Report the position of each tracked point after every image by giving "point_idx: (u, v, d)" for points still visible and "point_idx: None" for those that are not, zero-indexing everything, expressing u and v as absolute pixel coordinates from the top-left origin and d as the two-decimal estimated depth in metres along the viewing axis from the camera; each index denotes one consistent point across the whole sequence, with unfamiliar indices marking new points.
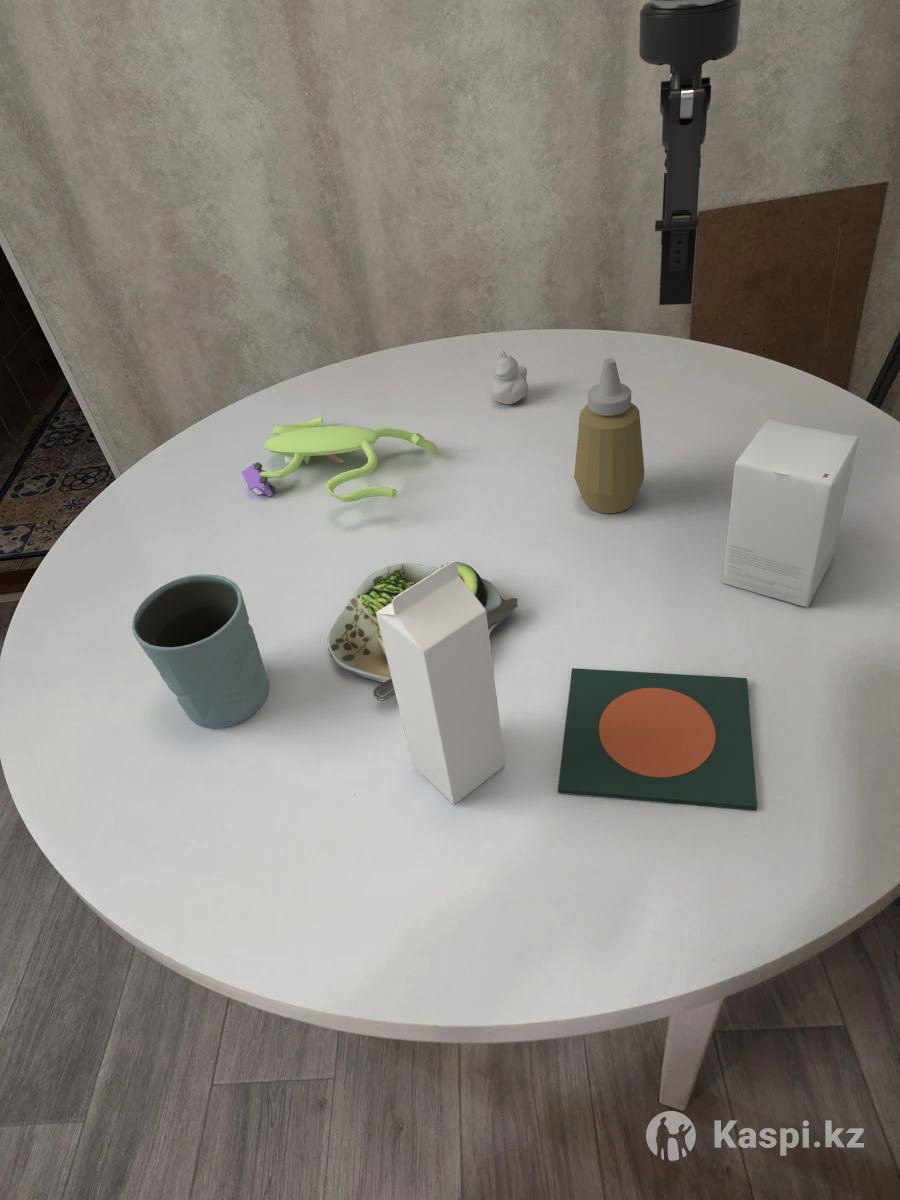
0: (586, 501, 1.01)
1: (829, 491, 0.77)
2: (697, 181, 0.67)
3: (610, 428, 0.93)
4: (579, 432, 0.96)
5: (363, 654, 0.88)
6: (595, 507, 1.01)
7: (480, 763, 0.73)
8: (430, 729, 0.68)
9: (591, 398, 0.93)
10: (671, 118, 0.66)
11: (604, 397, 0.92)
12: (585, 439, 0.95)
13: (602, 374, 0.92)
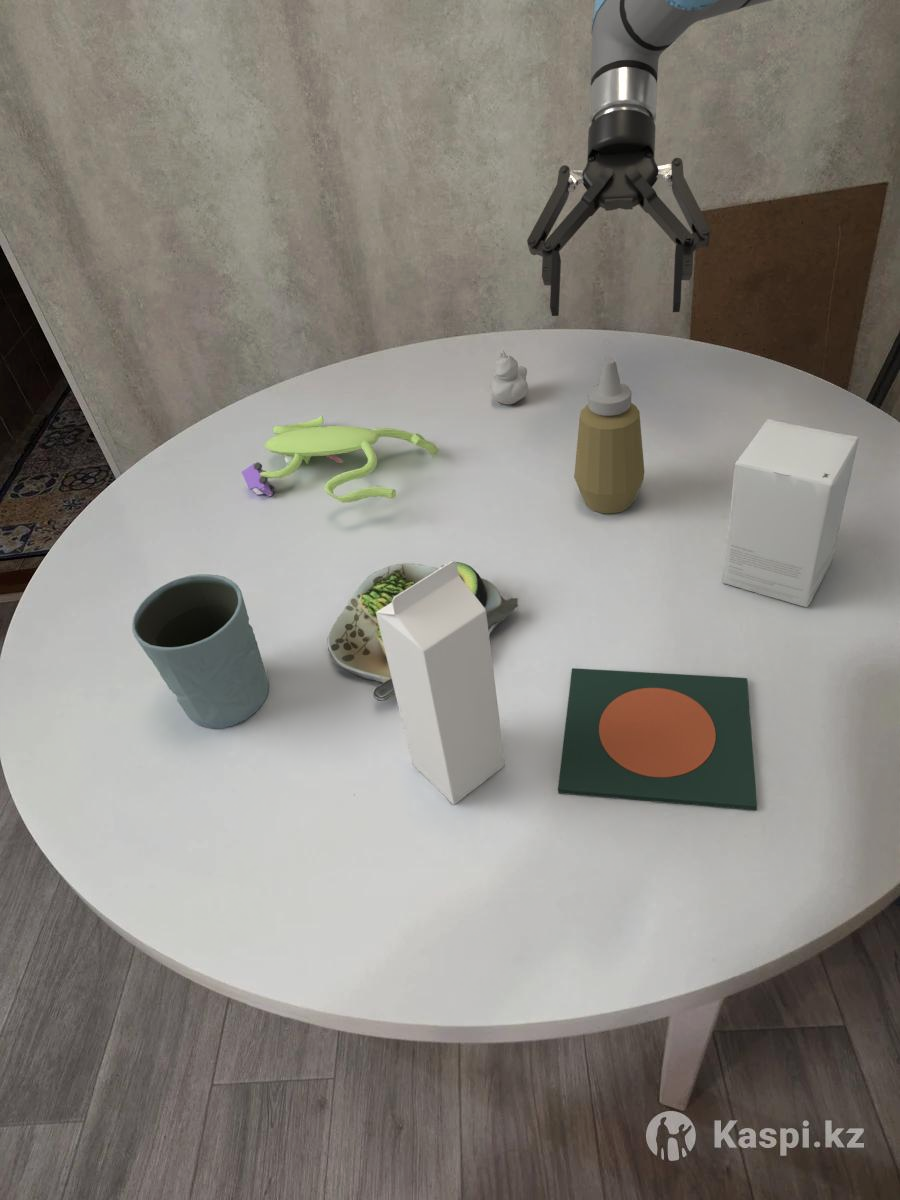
0: (586, 501, 1.01)
1: (829, 491, 0.77)
2: (539, 217, 0.99)
3: (610, 428, 0.93)
4: (579, 432, 0.96)
5: (363, 654, 0.88)
6: (595, 507, 1.01)
7: (480, 763, 0.73)
8: (430, 729, 0.68)
9: (591, 398, 0.93)
10: None
11: (604, 397, 0.92)
12: (585, 439, 0.95)
13: (602, 374, 0.92)
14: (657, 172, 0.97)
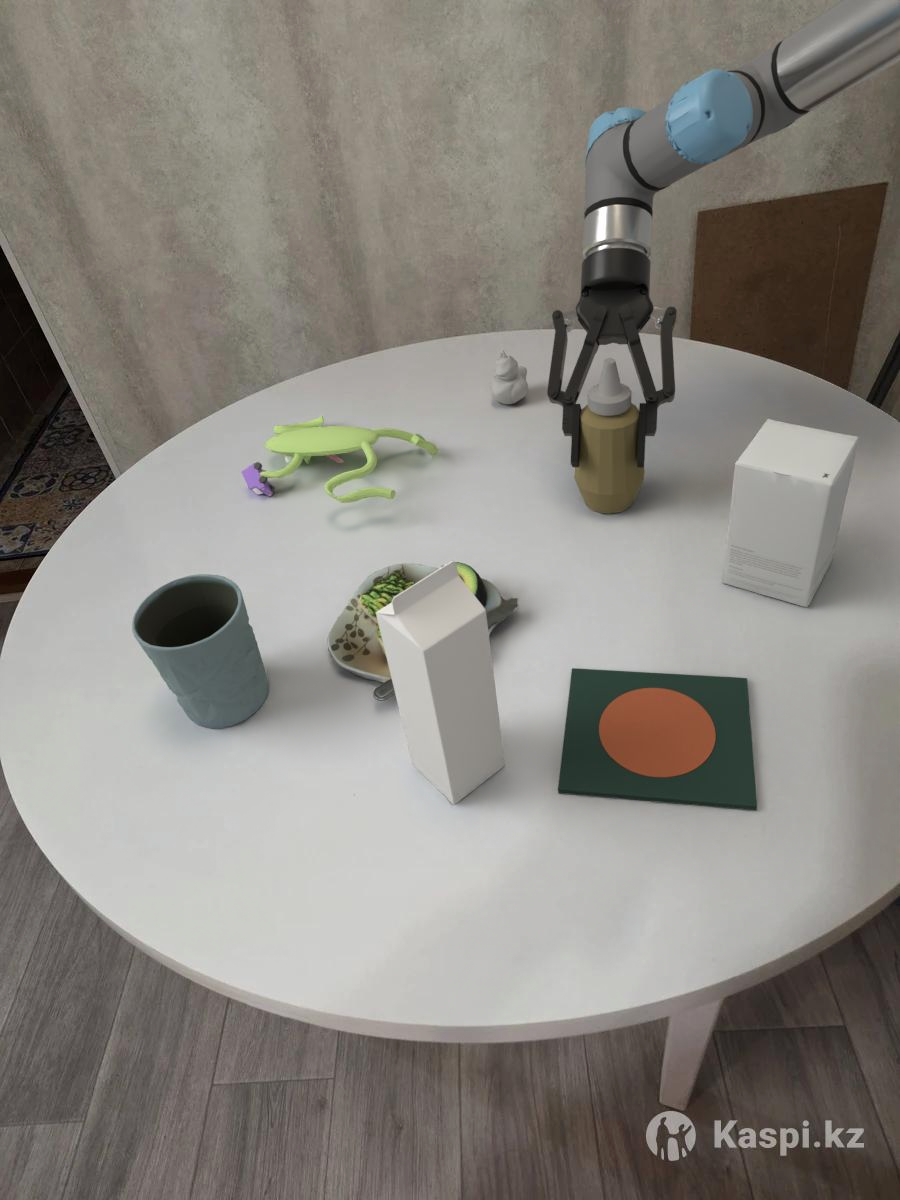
0: (586, 501, 1.01)
1: (829, 491, 0.77)
2: (550, 367, 0.96)
3: (610, 428, 0.93)
4: None
5: (363, 654, 0.88)
6: (595, 507, 1.01)
7: (480, 763, 0.73)
8: (430, 729, 0.68)
9: (591, 398, 0.93)
10: None
11: (604, 397, 0.92)
12: (585, 439, 0.95)
13: (602, 374, 0.92)
14: (652, 309, 0.94)
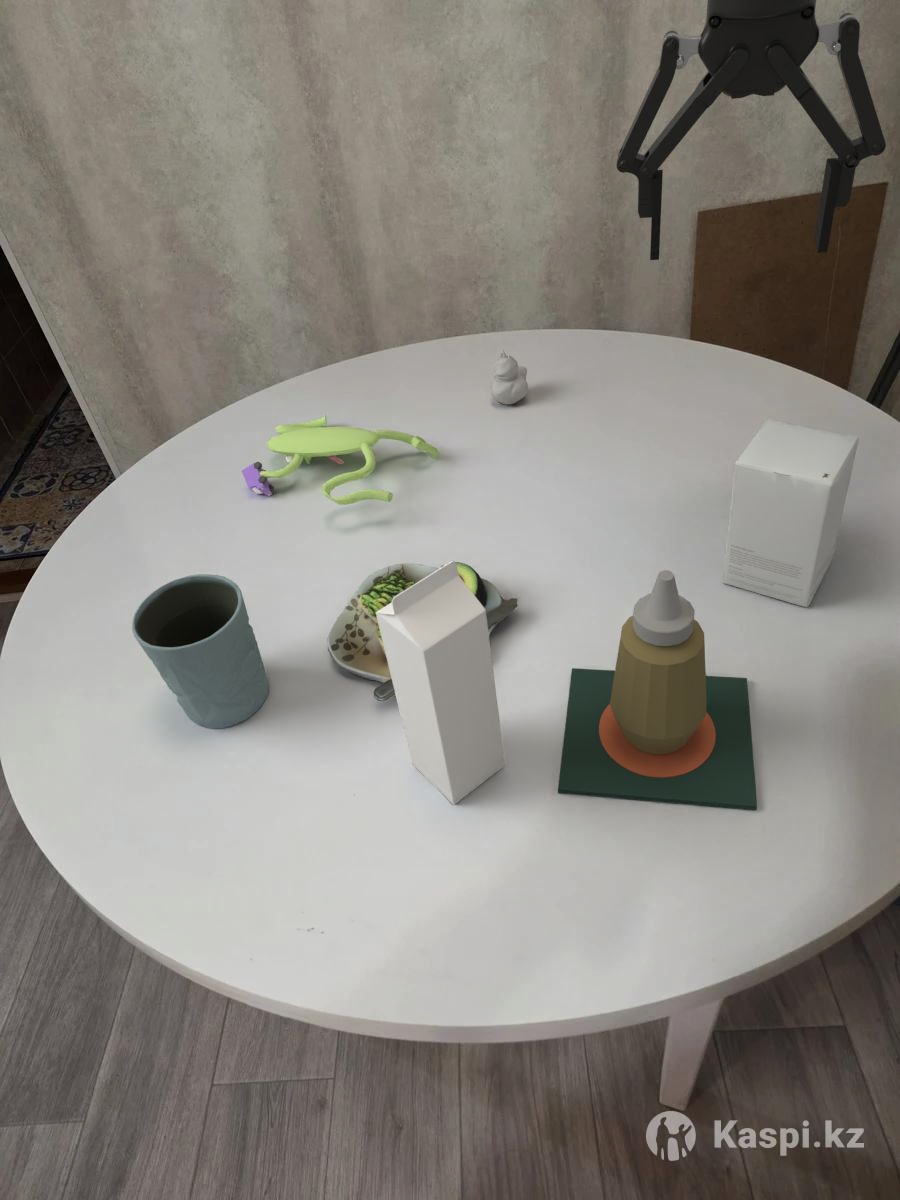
0: (626, 736, 0.74)
1: (829, 491, 0.77)
2: (633, 126, 0.68)
3: (665, 663, 0.66)
4: (619, 657, 0.70)
5: (363, 654, 0.88)
6: (638, 746, 0.74)
7: (480, 763, 0.73)
8: (430, 729, 0.68)
9: (639, 621, 0.66)
10: None
11: (657, 622, 0.66)
12: (628, 670, 0.69)
13: (655, 591, 0.65)
14: (817, 41, 0.63)
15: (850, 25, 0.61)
